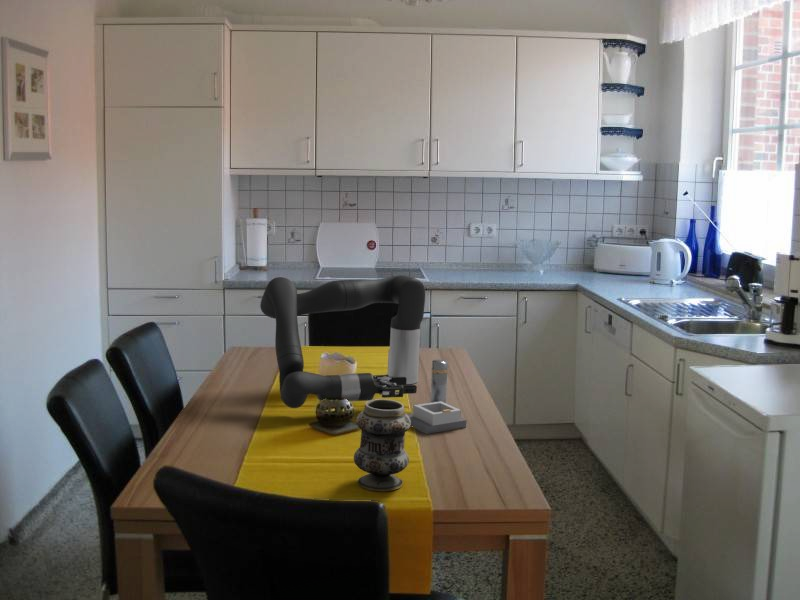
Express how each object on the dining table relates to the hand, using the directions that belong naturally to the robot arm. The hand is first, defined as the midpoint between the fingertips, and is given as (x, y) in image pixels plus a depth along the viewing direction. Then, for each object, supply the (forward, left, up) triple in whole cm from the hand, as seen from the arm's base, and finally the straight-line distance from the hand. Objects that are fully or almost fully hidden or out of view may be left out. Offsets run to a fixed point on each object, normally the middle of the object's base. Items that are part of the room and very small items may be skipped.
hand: (411, 384), depth 246 cm
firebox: (+13, -1, -8) cm, 15 cm away
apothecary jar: (+42, -36, -8) cm, 56 cm away
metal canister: (+2, +8, -8) cm, 11 cm away
